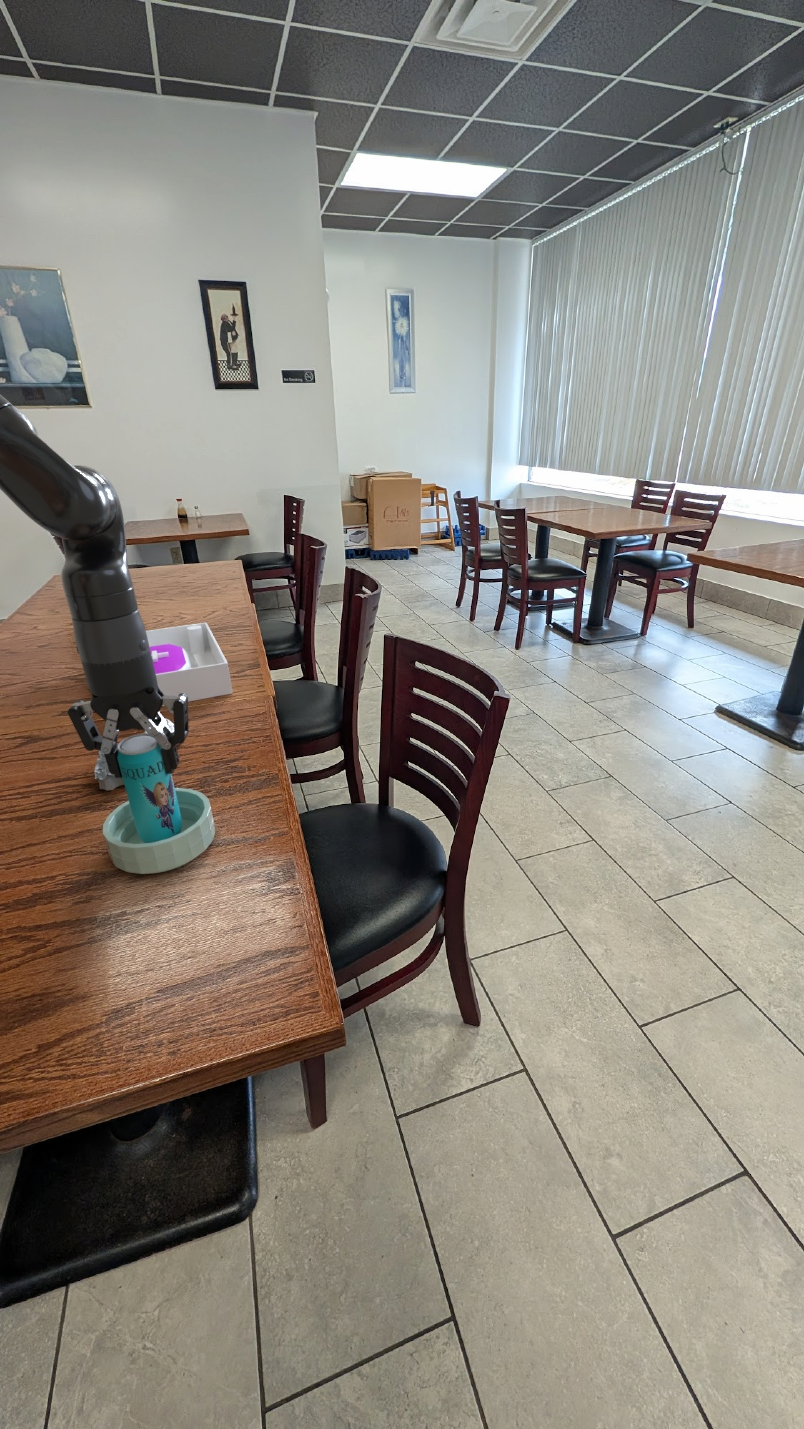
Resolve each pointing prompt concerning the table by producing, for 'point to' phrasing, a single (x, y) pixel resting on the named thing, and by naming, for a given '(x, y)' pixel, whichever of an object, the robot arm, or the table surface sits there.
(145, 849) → the bowl
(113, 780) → the grey sculpture
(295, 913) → the table surface
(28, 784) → the table surface
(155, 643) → the white open box
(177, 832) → the beverage can
